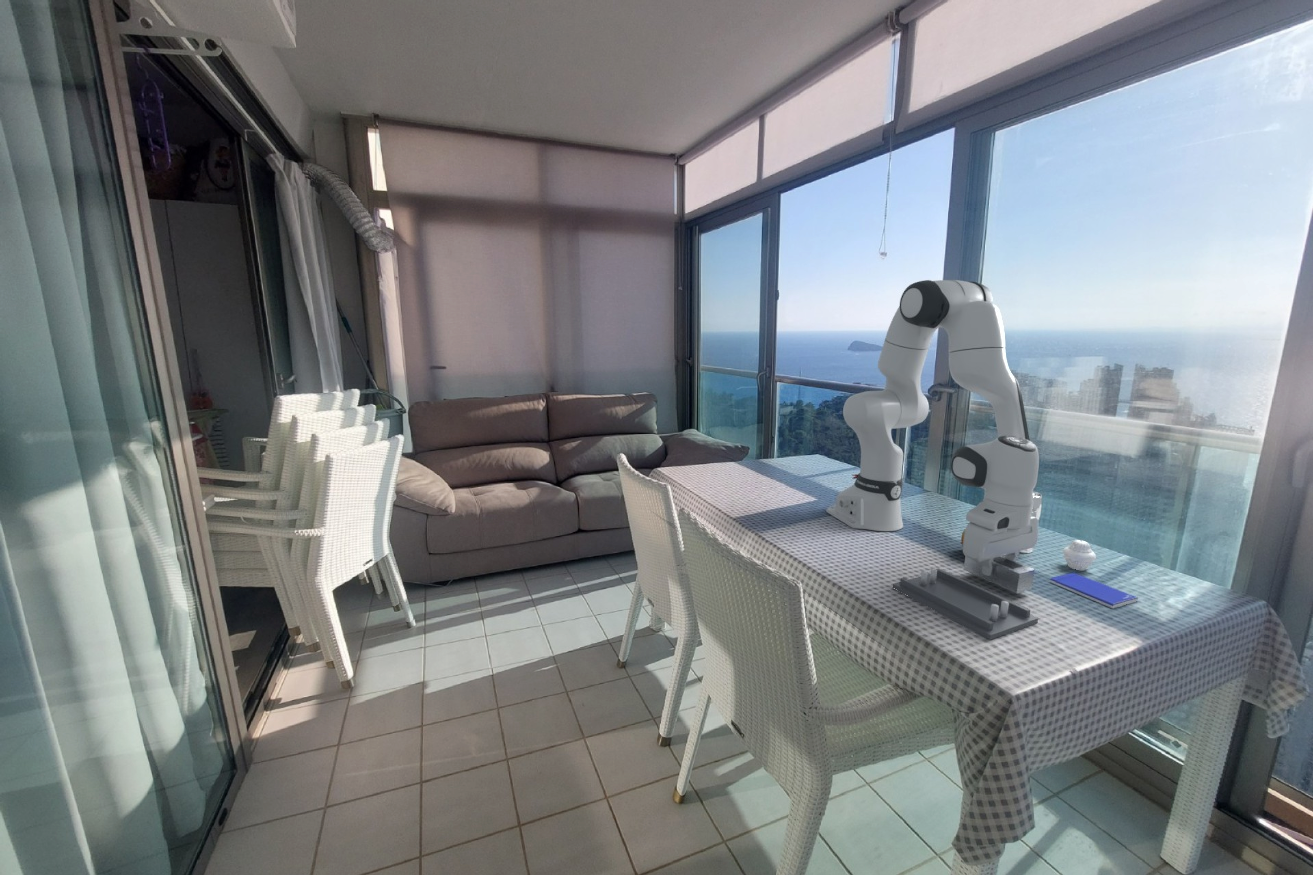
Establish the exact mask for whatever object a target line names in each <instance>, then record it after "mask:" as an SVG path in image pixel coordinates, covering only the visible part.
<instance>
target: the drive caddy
mask: <svg viewBox="0 0 1313 875" xmlns="http://www.w3.org/2000/svg"><path fill="white" fill-rule="evenodd" d="M964 556H965V555H964ZM991 563H992V567H994V568H995V570H994V574H993V575H990V576H987V575H985V574H983V573H982V567H983V566H982V564H981V562H977V561H974V560H972V559H969V558H967V557H966V556H965V557H964V563H963V570H964V571H966V572H967V573H970V574H973V575H975V576H977V577H979V578H981V579H983V580H986V581H988V582H991V583H993V584H995V585H997V586H999V587H1000V588H1004V589H1006V590H1008V591H1009V592H1012V593H1014V594H1020V593H1023V592H1025V591H1026V592H1027V591H1029V590H1032V588H1033V582H1034V578H1035V577H1034V576H1035V571H1036V568H1033V567H1030V566H1027V565H1025V564H1023V563H1020V562H1017V561H1016V560H1015V561H1013V560H1010V559H1008V558H1005V556H1004V555H1003V556H1000V557H996V558H994V560H993V562H991Z"/></svg>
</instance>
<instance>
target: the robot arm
mask: <svg viewBox="0 0 1313 875" xmlns="http://www.w3.org/2000/svg"><path fill="white" fill-rule="evenodd" d="M940 328H941V329H944V331H946V333H947V337H948V369H949V373H950V376H951V378H952V379H953V381H954V382H955V383H956V384H957V385H959V386H960V387H961V388H963V389H964V390H967V391H969V392H971V393H974V394H976V395H979V396H980V397H982V398H983V399H985V400H986V401H988V402H989V404H990V405H991V407H992V409H993V413H994V419H995V420H994V421H995V425H996V430H997V437H996V438H995V439H994V440H991V441H988V442H984V443H976V444H967V445H962V446H959V447H958V448H957V449H956V450H955V451H954V452H953V454H952V457H951V461H950V471H951V474H952V476H953V478H954V479H955V481H957V482H958V483H959V484H960V485H963V486H966V487H970V488H971V487H972V488H981V489H983V490H984V495H983V500H982V501H980V502H979V503H978V504H977V505H976V506H975V507H973V508H972V509H969V510H968V511H967V512H966V515H965V519H966V521H967V522H969V523H968V524H967V525H966V526H965V529H964V530H965V534H964V541H963V546H962V553H963V555H964V556H966V557H967V558H969V559H972V560H974V561H977V562H981V564H982V566H983V567H982V573H983V574H985V575H987V576H990V575H993V574H994V570H995V568H994V567H992V563H991V562H993V560H994V558H996V557H1000V556H1003V557H1005V558H1008V559H1010V560H1013V561H1015V562H1016V560H1017V559H1018V557H1019V556H1020V552H1019V551H1022V550H1026V549H1029V548H1033V549H1034V547H1036V545H1037V543H1038V541H1039V540H1038V539H1039V528H1040V527H1039V526H1040V525H1039V521H1038V519H1037V518H1036V511H1035V510H1034V509H1033V496H1032V493H1033V491H1034V489H1035V488H1036V486H1037V482H1038V475H1039V465H1040V455H1039V454H1040V453H1039V449H1038V447H1037V445H1036V444H1035V443H1034V442H1032V441H1031V439H1030V434H1029V430H1028V429H1029V428H1028V424H1027V416H1026V411H1025V405H1024V404H1025V403H1024V399H1023V395H1022V390H1021V386H1020V383H1019V381H1018V379H1017V378H1016V376H1014V375H1013V373H1012V372H1011V369H1010V367H1009V364H1008V359H1007V354H1006V353H1007V352H1006V338H1005V337H1006V336H1005V329H1004V323H1003V319H1002V314H1001V311H1000V308H999V307H998V306H997V305H996V304H994V298H993V293H992V292H991V290H990V288H989V287H987V286H986V285H984V284H982V283H980V282H976V281H965V280H959V279H945V280H944V279H943V280H930V279H928V280H927V279H926V280H920V281H916V282H914V283H911V284H909V285H908V286H907V287H906V288H905V289H904V291H903V292H902V294H901V297H900V299H899V306H898V308H897V309H896V312H895V313H894V315H893V317H892V319H891V322H890V324H889V326H888V329H887V332H886V335H885V338H884V342H883V345H882V348H881V352H880V355H879V358H878V361H877V362H878V363H877V368H878V371H879V372H880V374H882V375H883V376H884V377H885V387H884V389H882V390H869V391H868V390H867V391H866V390H865V391H863V392H858V393H856V394H853V395H850V396H849V397H848V398H847V399H846V400H845V402H844V404H843V409H842V415H843V418H844V421H845V423H846V425H847V426H848V427H849V428H851V429H852V430H853V431H854V433H855V434H856V436H857V439H858V441H859V446H860V467H859V468H860V470H859V473H858V474H852V475H851V476H852V477H851V478H852V479H853V480H854V479H855V481H854V484H852V485H851V486H849V487H848V488H845V489H844V490H842V491H840V492H839V493H838V494H837V495H836V497H835V502H834V505H831V506H828V507H827V508H826V513H828V514H829V515H831V516H832V517H834V518H836V519H837V520H839V521H841V522H842V523H843V524H846V525H847V526H849V527H850V528H853V529H857V530H859V529H863V530H868V531H869V530H870V531H877V532H895V531H899V530H901V529H903V528H904V523H903V518H902V507H901V504H902V503H901V502H902V501H901V495H902V492H903V484H904V483H903V482H904V480H903V477H902V476H903V475H902V473H903V464H904V452H903V449H902V448H901V447H900V446H899V445H897V444H896V443H894V440H893V437H892V430H893V429H905V428H910V427H913V426H917V425H918V424H922V423H923V421H925V420H926V419H927V417H928V414H929V412H930V411H929V410H930V405H929V401H928V399H927V396H926V395H925V394H924V393H923V391H922V384H921V381H922V380H921V378H922V372H923V369H924V366H925V362H926V360H927V356H928V352H929V350H930V346H931V343H932V340H933V337H934V335H935V334H934V333H935V332H936V331H937V329H940Z"/></svg>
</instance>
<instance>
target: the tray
mask: <svg viewBox="0 0 1313 875" xmlns="http://www.w3.org/2000/svg"><path fill="white" fill-rule="evenodd" d="M893 588H895V589H897V590H898V591H897V590H896V591H897V592H899V591H900V592H899V593H901V592H902V593H901V594H903V593H904V594H903V595H905V594H906V595H908V596H909V598H910V599H912V598H913V599H912V600H915V602H918V603H920V604H921V605H923V606H925V607H927V606H928V607H927V608H928V609H931V608H932V609H931V610H932V611H934V610H935V612H936V611H937V613H938V614H940V615H941V616H944V617H946V618H948V619H949V620H951V621H954V622H956V623H958V624H959V625H961V626H962V627H964V628H966V629H968V630H970V631H972V632H974V633H976V634H977V635H980V636H982V637H983V638H985V639H986V640H989V641H992V640H995V639H997V638H1000V637H1002V636H1005V635H1008V634H1011V633H1013V632H1017V631H1019V630H1022V629H1024V628H1027V627H1030V626H1033V625H1035V624H1038V623H1039V622H1038V620H1039V618H1038V617H1037V616H1034V615H1032V614H1031V609H1030V608H1027V607H1025V606H1023V605H1022V604H1019V603H1016V602H1014V601H1012V600H1010V599H1008V598H1005V597H1004V596H1001V595H999V594H997V593H995V592H993V591H989V589H988V590H987V589H986V588H983V587H981V586H979V585H976V584H975V583H973V582H970V581H968V580H965V579H963V578H962V577H959V576H956V575H954V574H952V573H950V572H948V571H946V570H943V569H941V568H931V569H930V573H928V572H927V571H924V570H922V571H921V572H920V576H916V577H913V578H910V579H907V578H905V577H901V578H900V580H899V581H898V582H895V583H892V589H893ZM895 589H894V590H895ZM906 595H905V596H906ZM908 596H907V597H908Z"/></svg>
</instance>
